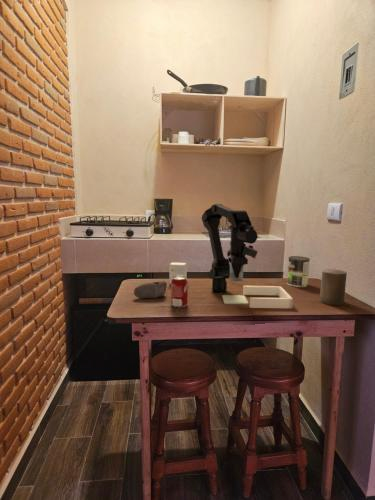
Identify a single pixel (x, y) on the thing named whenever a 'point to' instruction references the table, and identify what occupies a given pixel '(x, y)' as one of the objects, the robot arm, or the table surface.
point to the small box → (177, 270)
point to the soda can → (179, 291)
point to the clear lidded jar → (298, 271)
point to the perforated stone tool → (151, 290)
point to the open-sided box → (281, 302)
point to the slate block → (232, 275)
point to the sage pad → (234, 299)
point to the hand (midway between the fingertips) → (236, 276)
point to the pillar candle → (333, 286)
